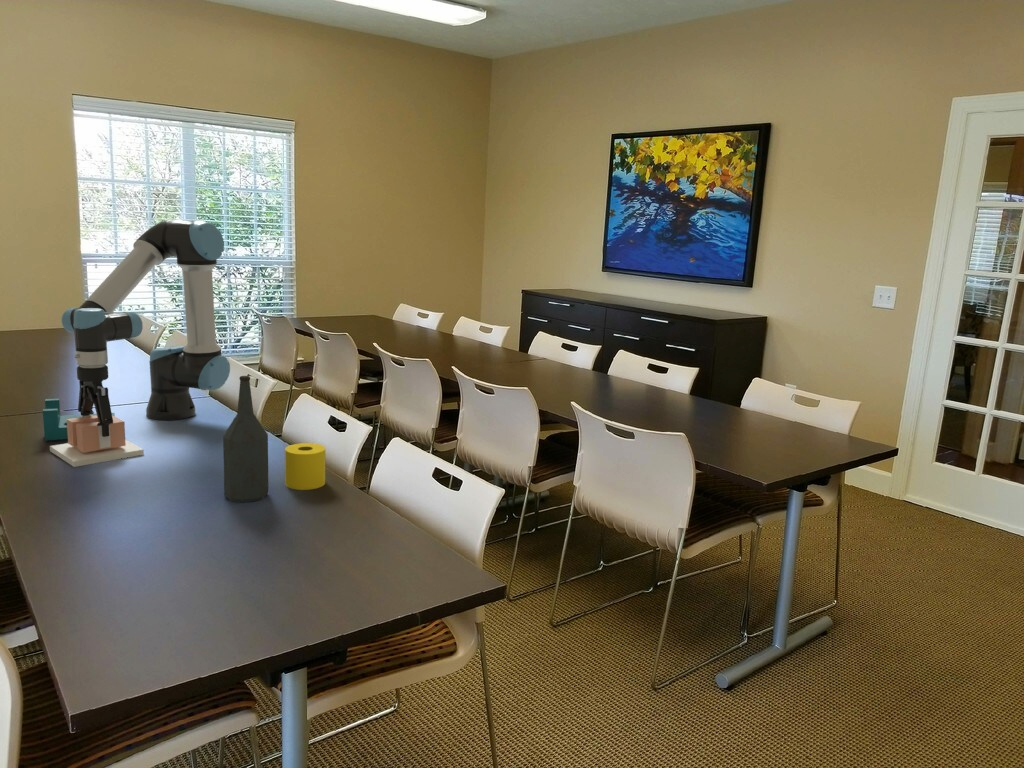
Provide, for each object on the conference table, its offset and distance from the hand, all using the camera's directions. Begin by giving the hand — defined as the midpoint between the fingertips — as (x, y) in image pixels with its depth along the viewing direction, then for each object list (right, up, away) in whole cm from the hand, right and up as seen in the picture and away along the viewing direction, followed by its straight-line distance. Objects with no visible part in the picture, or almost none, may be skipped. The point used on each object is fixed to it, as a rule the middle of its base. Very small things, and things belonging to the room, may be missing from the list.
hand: (96, 442), depth 214 cm
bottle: (+51, -11, -25) cm, 58 cm away
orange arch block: (0, -1, 0) cm, 1 cm away
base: (0, -3, 0) cm, 3 cm away
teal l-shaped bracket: (-13, +1, +16) cm, 20 cm away
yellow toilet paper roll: (+62, -10, -14) cm, 64 cm away
